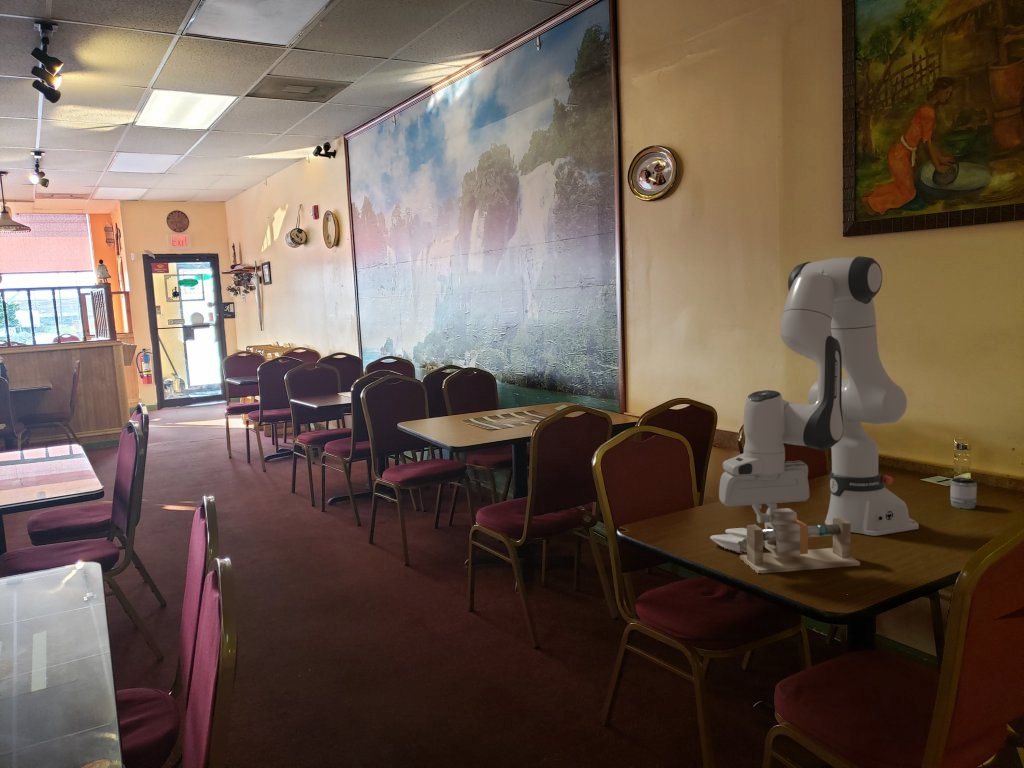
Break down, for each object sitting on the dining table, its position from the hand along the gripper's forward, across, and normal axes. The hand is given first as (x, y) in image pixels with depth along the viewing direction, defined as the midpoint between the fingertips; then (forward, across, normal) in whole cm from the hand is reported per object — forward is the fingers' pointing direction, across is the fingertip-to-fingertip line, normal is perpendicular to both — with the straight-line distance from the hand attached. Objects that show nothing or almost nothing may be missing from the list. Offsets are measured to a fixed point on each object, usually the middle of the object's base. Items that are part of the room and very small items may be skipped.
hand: (764, 522), depth 165 cm
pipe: (+4, -8, 0) cm, 9 cm away
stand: (+10, -8, 0) cm, 13 cm away
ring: (+7, -8, 0) cm, 10 cm away
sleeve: (+7, -4, 0) cm, 8 cm away
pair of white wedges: (+11, 0, -14) cm, 18 cm away
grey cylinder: (+10, -73, -31) cm, 80 cm away
